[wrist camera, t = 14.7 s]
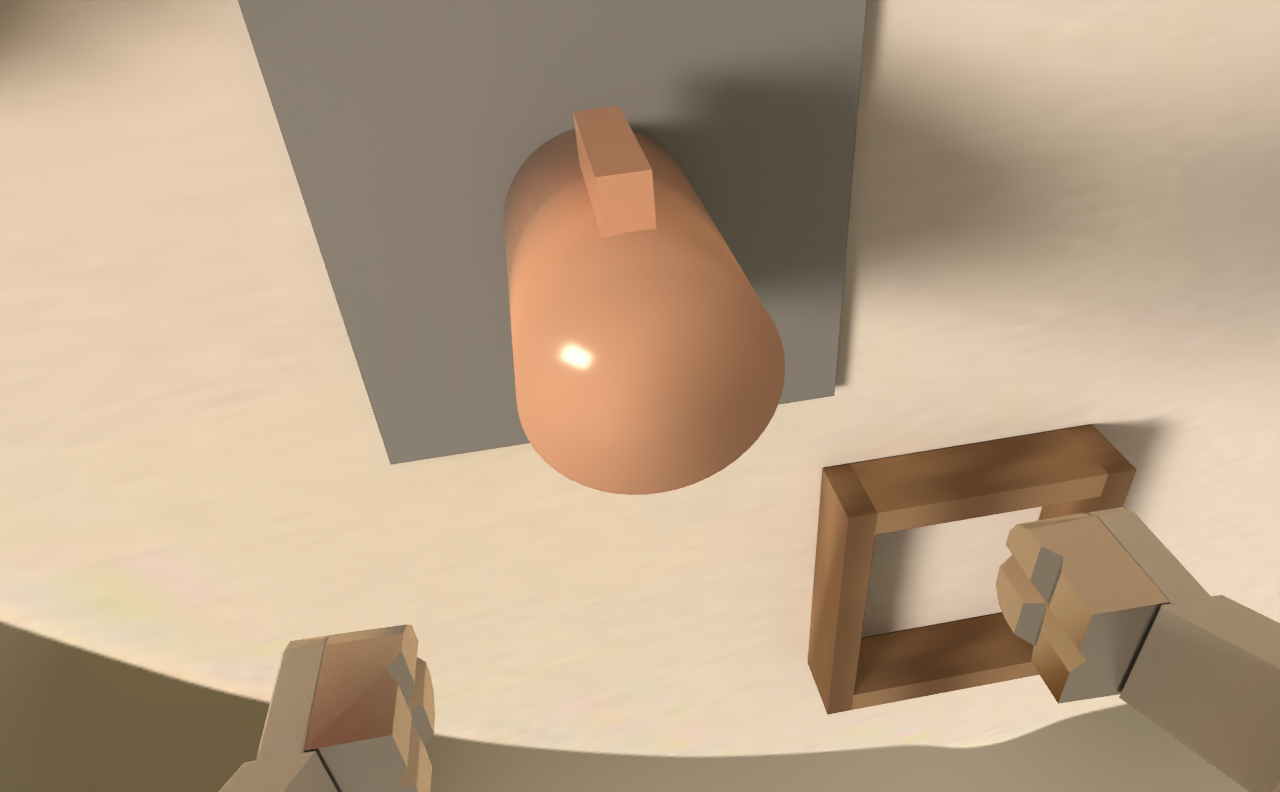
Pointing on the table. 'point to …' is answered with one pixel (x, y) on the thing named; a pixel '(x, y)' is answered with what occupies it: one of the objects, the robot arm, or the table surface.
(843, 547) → the brown wooden frame
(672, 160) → the capsule with tab
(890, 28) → the table surface
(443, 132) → the mat
